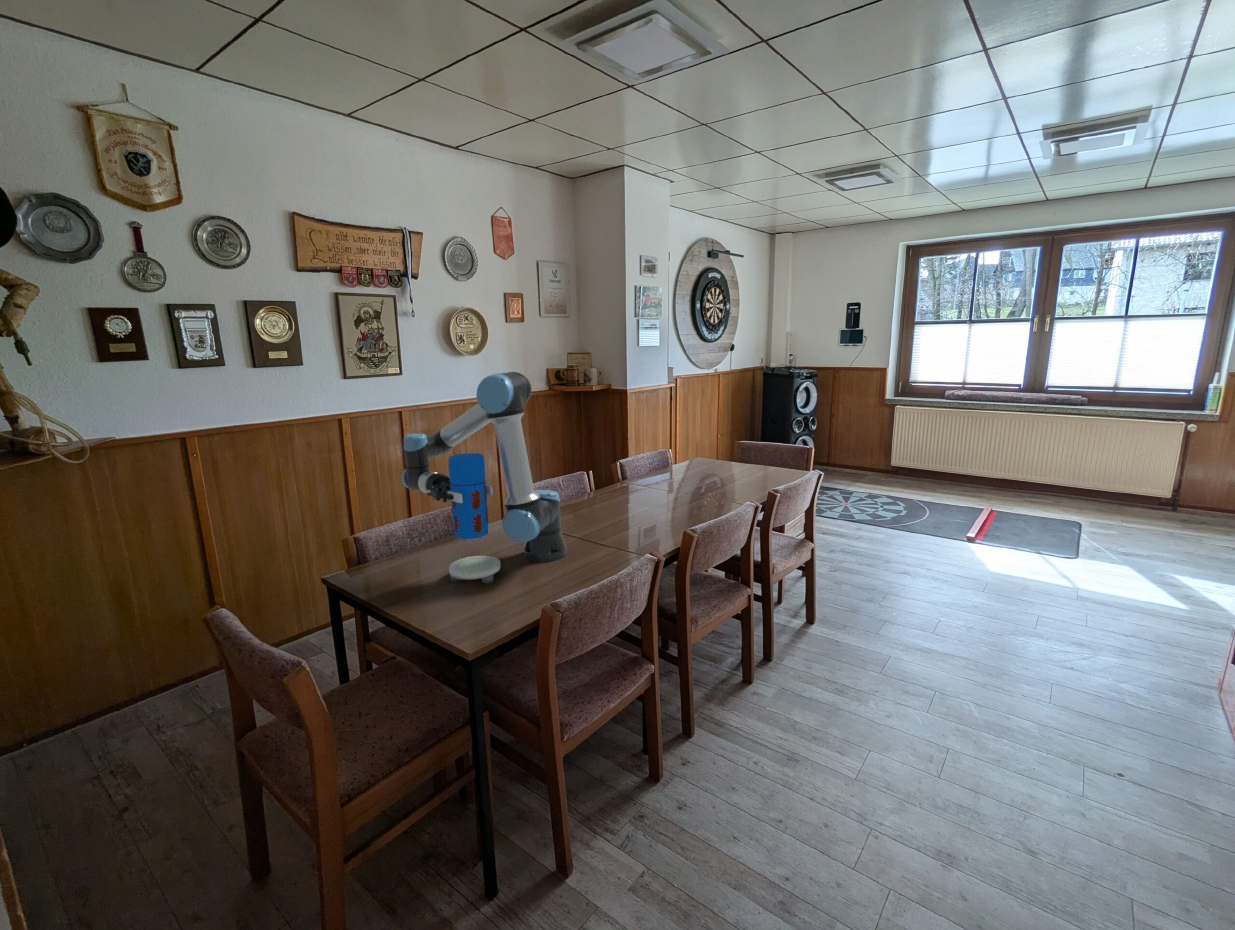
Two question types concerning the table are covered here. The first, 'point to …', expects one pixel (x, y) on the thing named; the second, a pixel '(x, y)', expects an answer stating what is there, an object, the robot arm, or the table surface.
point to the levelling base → (474, 568)
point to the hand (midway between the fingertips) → (476, 494)
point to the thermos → (469, 495)
